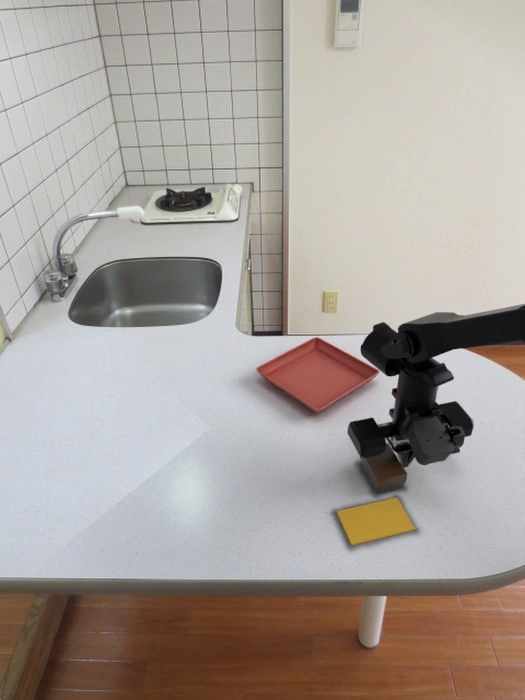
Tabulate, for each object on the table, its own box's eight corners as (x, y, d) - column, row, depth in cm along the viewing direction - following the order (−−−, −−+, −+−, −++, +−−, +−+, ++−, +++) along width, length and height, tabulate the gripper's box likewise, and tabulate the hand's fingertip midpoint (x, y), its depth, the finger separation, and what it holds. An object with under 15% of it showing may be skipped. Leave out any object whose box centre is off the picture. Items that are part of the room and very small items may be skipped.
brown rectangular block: (404, 488, 84) (407, 473, 82) (375, 495, 83) (377, 480, 81) (386, 457, 90) (388, 443, 88) (358, 463, 89) (360, 448, 87)
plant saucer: (316, 347, 118) (316, 335, 116) (380, 383, 106) (381, 370, 104) (254, 381, 108) (254, 368, 106) (318, 425, 97) (318, 411, 95)
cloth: (396, 498, 82) (397, 497, 82) (415, 530, 77) (415, 528, 77) (336, 512, 80) (336, 511, 80) (351, 545, 76) (351, 544, 75)
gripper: (380, 441, 69) (370, 517, 78) (505, 415, 73) (482, 491, 82) (349, 390, 78) (343, 463, 87) (462, 369, 82) (445, 441, 91)
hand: (403, 465), depth 86 cm, fingers closed
